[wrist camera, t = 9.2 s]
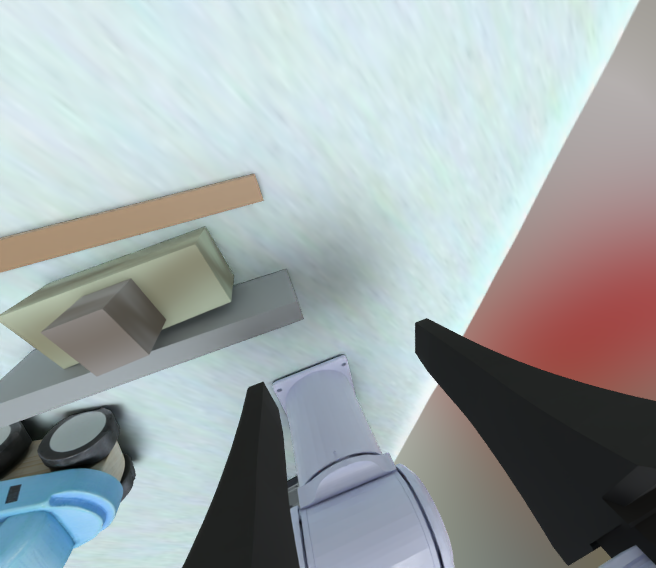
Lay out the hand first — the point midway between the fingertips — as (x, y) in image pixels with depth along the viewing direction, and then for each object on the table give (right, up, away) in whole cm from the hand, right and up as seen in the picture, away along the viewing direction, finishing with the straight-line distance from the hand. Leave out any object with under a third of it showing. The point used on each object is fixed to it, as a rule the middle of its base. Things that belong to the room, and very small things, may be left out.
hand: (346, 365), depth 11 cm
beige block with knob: (-13, +4, +6) cm, 15 cm away
